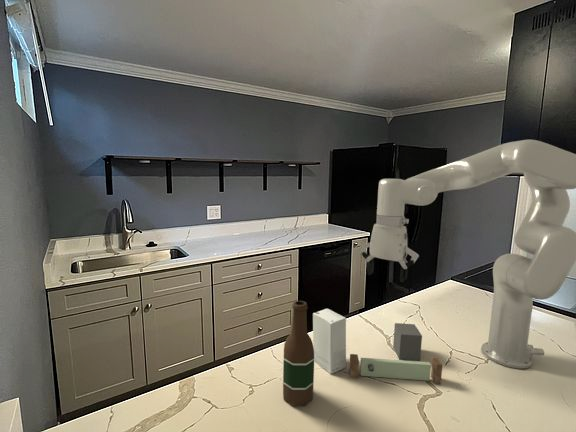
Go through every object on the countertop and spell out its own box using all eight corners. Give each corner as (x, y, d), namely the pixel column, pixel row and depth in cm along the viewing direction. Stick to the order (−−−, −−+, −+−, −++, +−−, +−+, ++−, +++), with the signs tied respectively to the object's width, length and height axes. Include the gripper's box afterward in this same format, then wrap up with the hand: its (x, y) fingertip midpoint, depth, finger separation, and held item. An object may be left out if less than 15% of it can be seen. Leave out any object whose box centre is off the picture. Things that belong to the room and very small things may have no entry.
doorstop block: (412, 348, 98) (414, 324, 97) (419, 361, 91) (422, 335, 90) (393, 346, 98) (394, 323, 97) (399, 359, 91) (400, 334, 90)
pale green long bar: (436, 376, 84) (437, 358, 83) (440, 384, 81) (442, 364, 80) (349, 370, 86) (350, 352, 85) (350, 377, 83) (351, 358, 82)
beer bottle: (289, 412, 70) (291, 312, 67) (277, 390, 78) (278, 299, 74) (319, 402, 74) (322, 306, 70) (304, 382, 81) (307, 294, 77)
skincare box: (346, 368, 87) (348, 318, 85) (329, 375, 84) (332, 323, 82) (326, 353, 94) (328, 307, 92) (310, 359, 91) (312, 311, 88)
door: (427, 377, 83) (429, 362, 82) (430, 383, 81) (432, 367, 80) (360, 372, 85) (360, 357, 84) (361, 378, 82) (362, 362, 82)
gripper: (424, 222, 89) (419, 280, 91) (366, 216, 99) (363, 268, 101) (417, 226, 83) (412, 287, 85) (356, 219, 92) (353, 274, 95)
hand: (386, 277), depth 93 cm, fingers open, 9 cm apart
